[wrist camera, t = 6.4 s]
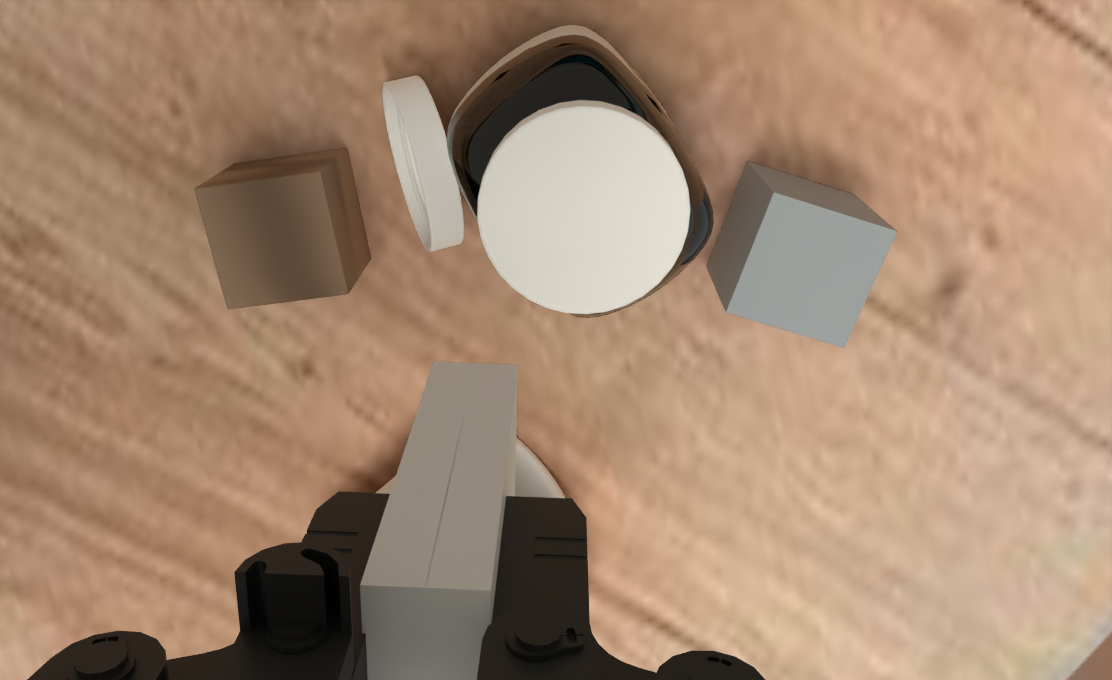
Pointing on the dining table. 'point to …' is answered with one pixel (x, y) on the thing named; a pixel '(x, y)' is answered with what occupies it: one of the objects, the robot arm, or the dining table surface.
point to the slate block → (797, 254)
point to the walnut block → (285, 228)
